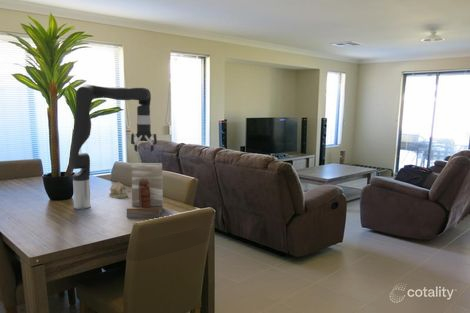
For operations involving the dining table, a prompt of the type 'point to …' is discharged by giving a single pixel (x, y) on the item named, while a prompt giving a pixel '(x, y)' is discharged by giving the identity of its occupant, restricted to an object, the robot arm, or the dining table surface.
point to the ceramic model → (118, 191)
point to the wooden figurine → (144, 194)
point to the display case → (156, 191)
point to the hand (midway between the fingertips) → (144, 151)
